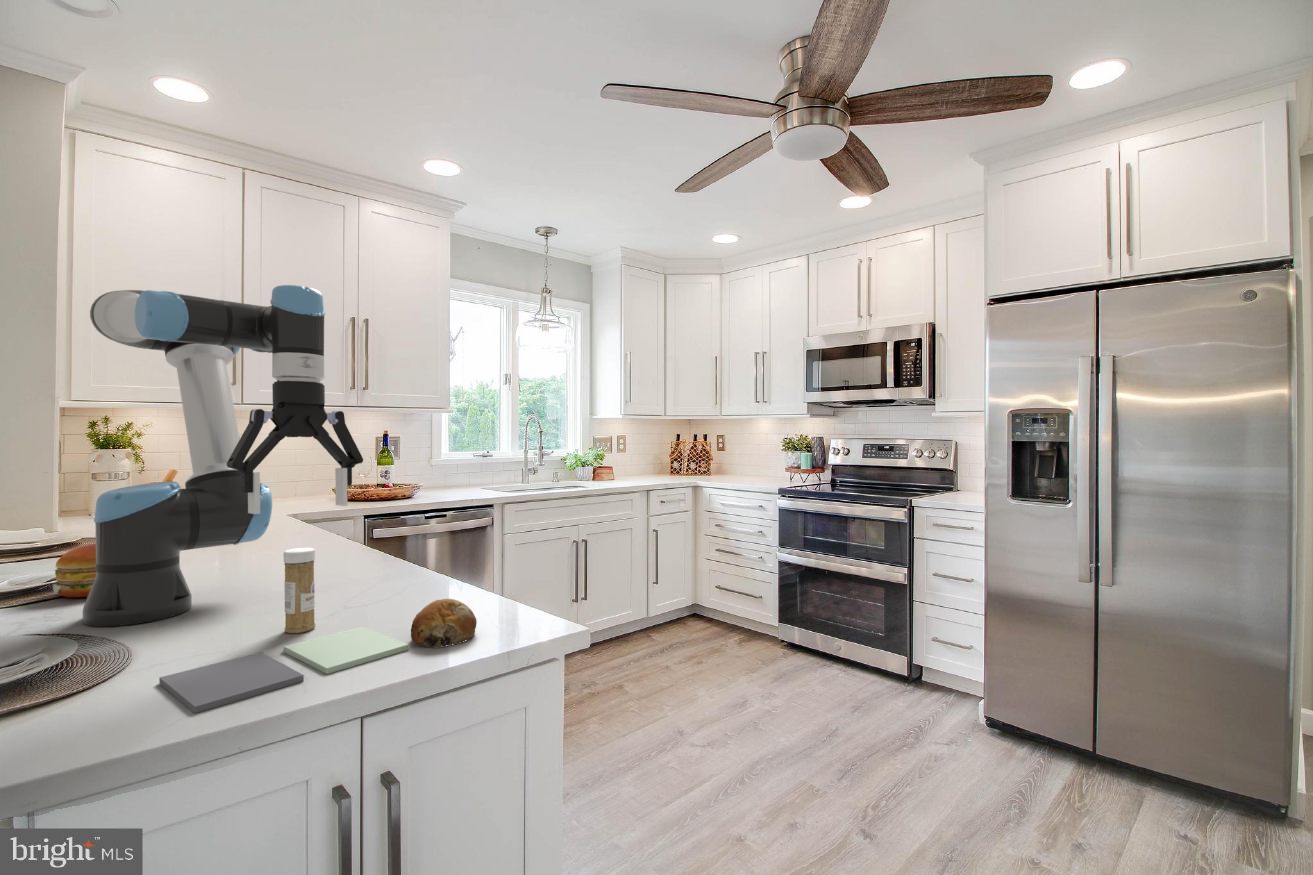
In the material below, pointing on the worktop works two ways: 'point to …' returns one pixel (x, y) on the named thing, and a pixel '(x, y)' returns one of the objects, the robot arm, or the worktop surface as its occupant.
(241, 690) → the pad
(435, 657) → the worktop surface
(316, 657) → the pad
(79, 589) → the burger
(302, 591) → the spice jar
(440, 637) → the bread roll
